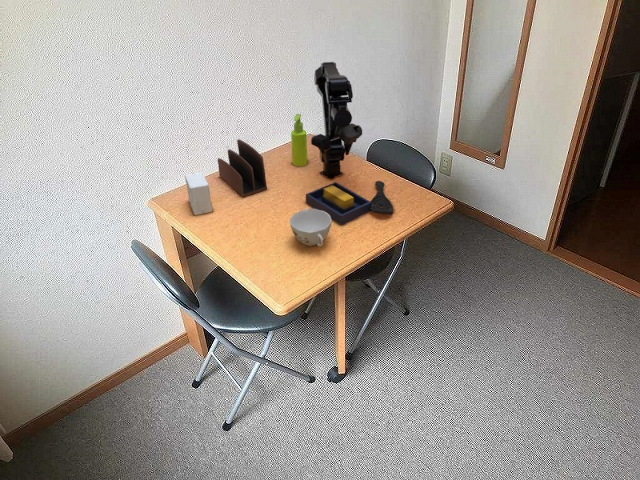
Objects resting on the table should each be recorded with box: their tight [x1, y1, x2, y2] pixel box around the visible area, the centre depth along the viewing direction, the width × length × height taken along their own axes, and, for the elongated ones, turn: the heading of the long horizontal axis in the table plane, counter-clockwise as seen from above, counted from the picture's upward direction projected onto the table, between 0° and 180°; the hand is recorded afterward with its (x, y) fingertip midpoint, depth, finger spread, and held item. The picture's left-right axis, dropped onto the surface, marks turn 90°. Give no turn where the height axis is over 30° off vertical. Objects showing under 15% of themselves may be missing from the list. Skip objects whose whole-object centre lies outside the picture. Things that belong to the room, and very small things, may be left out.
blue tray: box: [305, 181, 373, 226], centre depth 166 cm, size 19×14×4 cm
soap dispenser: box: [290, 113, 308, 167], centre depth 189 cm, size 6×7×20 cm
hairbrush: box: [369, 180, 394, 215], centre depth 169 cm, size 8×4×25 cm
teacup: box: [289, 208, 332, 247], centre depth 148 cm, size 15×12×8 cm
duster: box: [322, 185, 356, 214], centre depth 165 cm, size 12×5×5 cm, turn 39°
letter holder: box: [217, 138, 268, 198], centre depth 178 cm, size 10×20×14 cm, turn 34°
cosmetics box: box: [184, 171, 213, 216], centre depth 165 cm, size 10×6×10 cm, turn 23°
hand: (337, 158), depth 171 cm, fingers open, 9 cm apart
